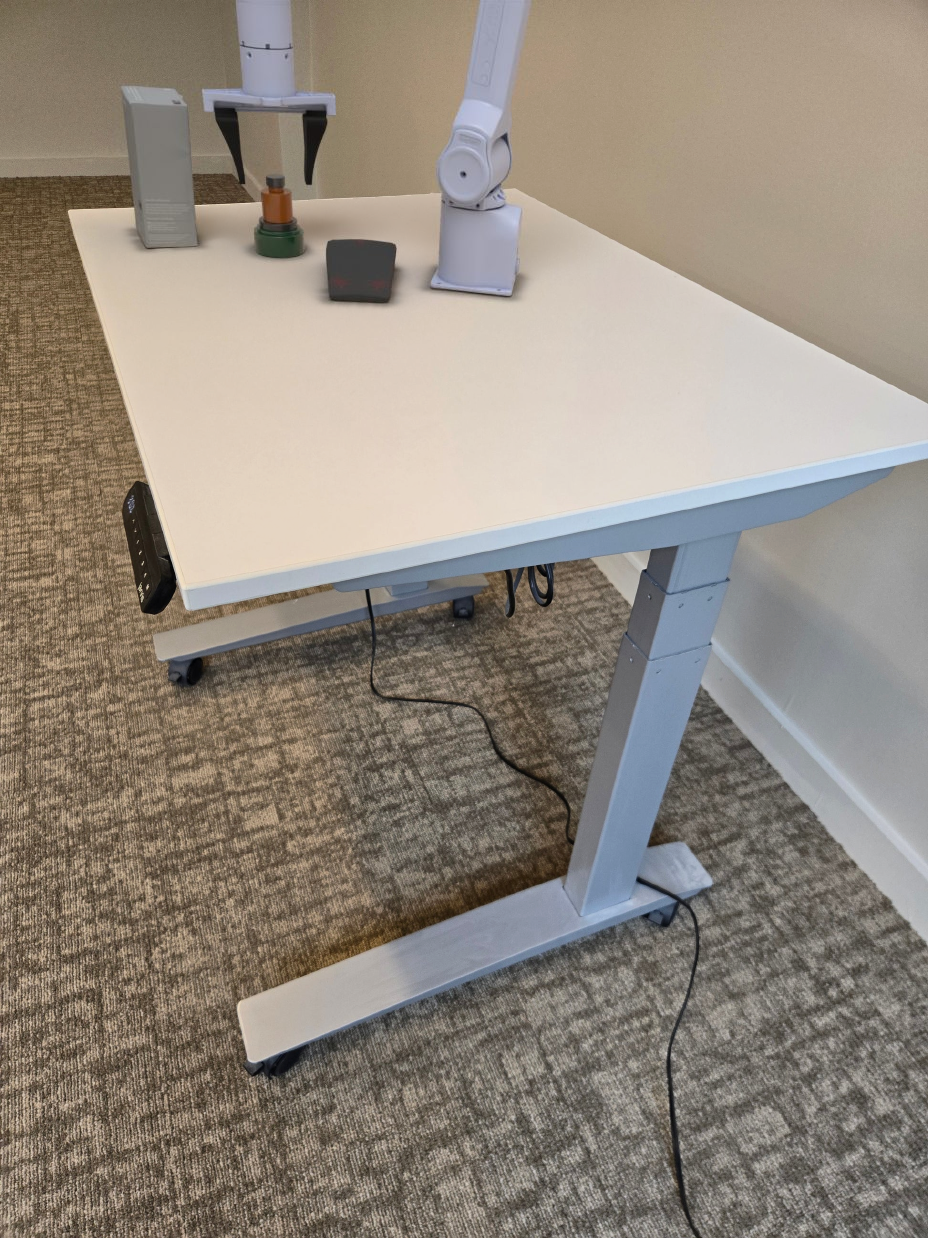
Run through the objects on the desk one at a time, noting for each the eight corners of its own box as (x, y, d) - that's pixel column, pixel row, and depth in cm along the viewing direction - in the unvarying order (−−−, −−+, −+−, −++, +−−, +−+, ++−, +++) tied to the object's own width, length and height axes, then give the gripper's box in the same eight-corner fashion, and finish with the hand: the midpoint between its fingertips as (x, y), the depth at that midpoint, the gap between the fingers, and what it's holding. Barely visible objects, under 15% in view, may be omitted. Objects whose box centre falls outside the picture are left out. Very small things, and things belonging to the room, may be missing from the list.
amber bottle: (298, 217, 106) (295, 174, 103) (285, 225, 103) (282, 181, 100) (271, 213, 107) (268, 170, 104) (257, 220, 104) (254, 176, 101)
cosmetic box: (135, 229, 110) (111, 84, 100) (193, 226, 112) (175, 84, 102) (145, 250, 104) (120, 98, 94) (205, 246, 107) (188, 98, 96)
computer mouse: (396, 263, 106) (396, 229, 104) (396, 304, 96) (396, 266, 93) (329, 260, 106) (328, 225, 103) (322, 300, 95) (320, 263, 93)
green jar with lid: (310, 245, 110) (308, 215, 107) (297, 260, 105) (295, 228, 103) (263, 240, 110) (261, 210, 108) (248, 254, 105) (245, 223, 103)
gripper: (196, 47, 89) (212, 190, 98) (338, 54, 93) (341, 191, 101) (196, 38, 95) (211, 174, 103) (330, 44, 98) (333, 176, 106)
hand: (275, 182), depth 103 cm, fingers open, 7 cm apart
